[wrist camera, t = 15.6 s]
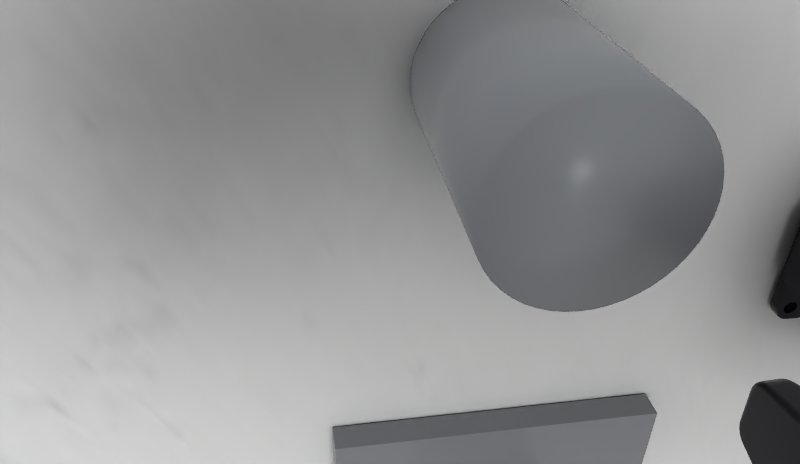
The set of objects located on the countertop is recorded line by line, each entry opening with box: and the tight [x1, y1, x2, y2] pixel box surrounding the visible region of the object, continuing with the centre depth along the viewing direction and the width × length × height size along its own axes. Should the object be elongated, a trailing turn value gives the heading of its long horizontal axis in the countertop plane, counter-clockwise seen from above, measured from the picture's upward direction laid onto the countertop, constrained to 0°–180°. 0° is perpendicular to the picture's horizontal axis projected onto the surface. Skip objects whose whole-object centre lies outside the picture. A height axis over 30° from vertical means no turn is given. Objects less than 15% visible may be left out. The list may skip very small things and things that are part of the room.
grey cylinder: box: [410, 0, 724, 312], centre depth 17 cm, size 5×5×7 cm
